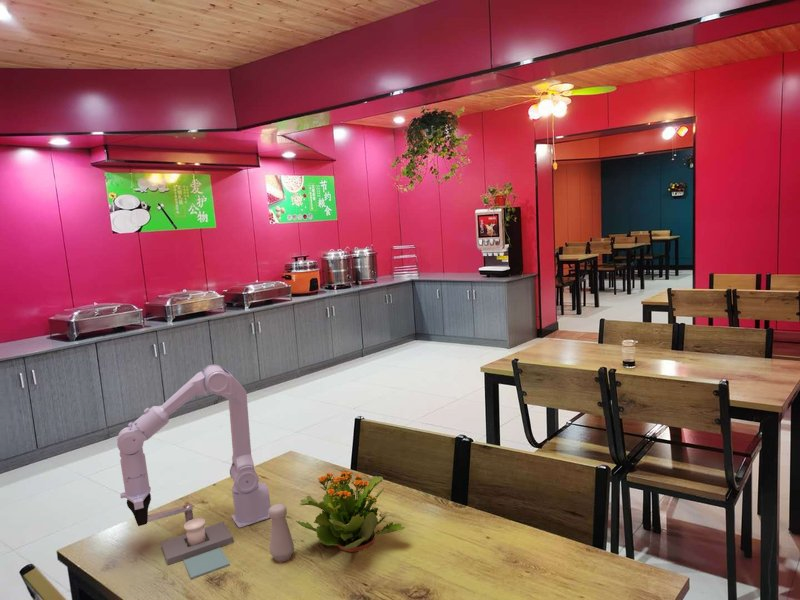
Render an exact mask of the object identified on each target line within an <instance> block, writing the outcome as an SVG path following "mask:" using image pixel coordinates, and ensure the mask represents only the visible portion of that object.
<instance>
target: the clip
mask: <svg viewBox="0 0 800 600" xmlns="http://www.w3.org/2000/svg"><path fill="white" fill-rule="evenodd" d="M191 510H192V511H193V510H194V506H193V503H185V504H184V505H181V506H177V507H173V508H169V509H165V510H162V511H158V512H155V513H151V514H148V520H147V523H150V522H154V521H158V520H161V519H165V518H168V517H172V516H174V515H175V516H176V515H179V514H183V513H184V512H189V511H191ZM136 525H137V526H138V524H137V523H136Z"/></svg>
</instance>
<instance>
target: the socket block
mask: <svg viewBox="0 0 800 600" xmlns="http://www.w3.org/2000/svg"><path fill="white" fill-rule="evenodd" d="M204 528H205V536H206V542H203V543H200V544H197V545H194V546H191V547H188V540H187V533H184V534H181V535H178V536H175V537H172V538H168V539H165V540H163V541H160V546H161V549H162V552H163V556H164V558H165V561H166V564H167V565H168V566H169V565H173V564H175V563H177V562H182V561H184V560H186V559H189V558H191V557H194V556H197V555H200V554H203V553H206V552H209V551H212V550H214V549H217V548H220V547H221V548H222V547H224V546H227V545H229V544H233V543H234V536H233V534H232V533H231V532H230V530H229V528H228V527H227V525H226V523H225V522H224V521H222V522H218V523H215V524H212V525H209V526H204Z"/></svg>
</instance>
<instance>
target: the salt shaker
mask: <svg viewBox="0 0 800 600" xmlns="http://www.w3.org/2000/svg"><path fill="white" fill-rule="evenodd" d="M287 511H288V509H287V506H286V505H285V504H284V503H274V504H273V505H271V507H270V508H269V517H270V518H269V519H270V521H271V524H270V539H269V553H270V555H271V556H272V558H274V560H275V562H276V561H277V563H279V562H281V563H283V562H285V561H286V562H287V561H289V560H291V557H292V554H293V552H294V549H295V545H294V544H295V543H294V541H293V537H292V534H291V531H290V528H289V524H288V521H287V518H286V515H287V514H288V513H287Z"/></svg>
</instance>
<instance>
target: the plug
mask: <svg viewBox="0 0 800 600" xmlns="http://www.w3.org/2000/svg"><path fill="white" fill-rule="evenodd" d="M205 525H206V519H205V518H203V517H197V518H193V519H192V520H189V521H187V522H186V521H185V523H184V524H183V529H184V531H185V532H186V533H185V534H187V540H188V543H187V547H191V546H194V545H197V544H200V543H203V542H206V541H207V538H206V536H205Z"/></svg>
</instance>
